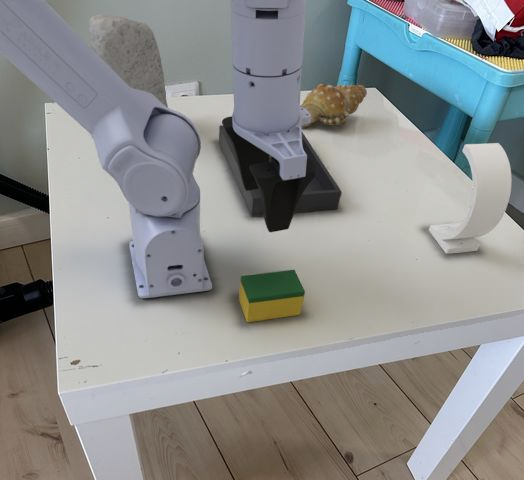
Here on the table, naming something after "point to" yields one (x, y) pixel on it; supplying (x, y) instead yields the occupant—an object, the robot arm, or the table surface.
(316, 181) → the tray
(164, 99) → the decorative stone
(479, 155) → the headphone stand
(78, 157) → the table surface
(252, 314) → the sponge
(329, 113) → the seashell
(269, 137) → the robot arm
